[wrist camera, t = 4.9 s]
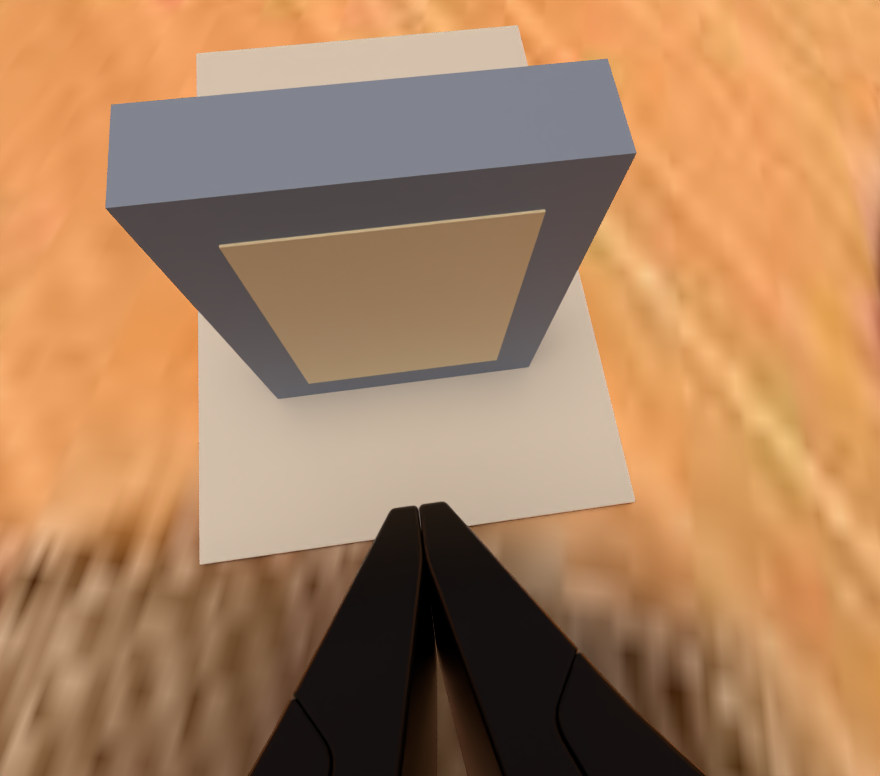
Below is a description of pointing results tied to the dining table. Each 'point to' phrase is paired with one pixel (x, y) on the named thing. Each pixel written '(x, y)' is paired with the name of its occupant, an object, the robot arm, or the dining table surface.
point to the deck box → (375, 216)
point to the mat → (399, 405)
